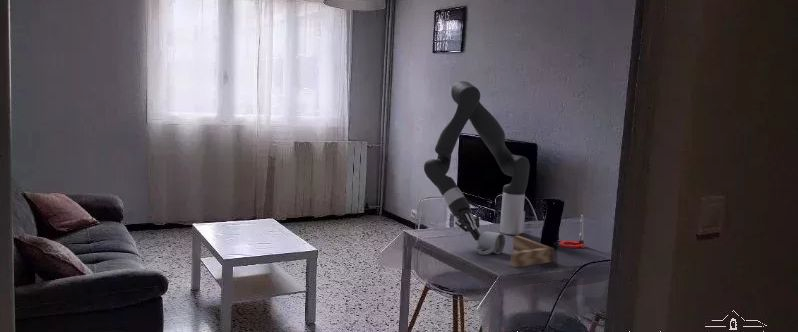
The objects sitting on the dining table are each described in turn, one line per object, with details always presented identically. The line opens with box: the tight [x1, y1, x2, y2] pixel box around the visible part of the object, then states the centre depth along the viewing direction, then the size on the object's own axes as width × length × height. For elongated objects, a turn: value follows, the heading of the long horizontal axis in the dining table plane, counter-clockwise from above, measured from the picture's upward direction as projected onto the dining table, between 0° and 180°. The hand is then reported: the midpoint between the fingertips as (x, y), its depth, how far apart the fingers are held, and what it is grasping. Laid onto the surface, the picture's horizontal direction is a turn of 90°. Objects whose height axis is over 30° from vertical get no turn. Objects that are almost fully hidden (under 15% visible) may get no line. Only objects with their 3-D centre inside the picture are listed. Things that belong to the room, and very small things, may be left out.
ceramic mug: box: [476, 231, 506, 256], centre depth 225 cm, size 11×8×8 cm
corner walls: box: [510, 235, 555, 268], centre depth 221 cm, size 18×19×5 cm
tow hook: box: [559, 214, 586, 249], centre depth 242 cm, size 8×13×9 cm
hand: (478, 239), depth 228 cm, fingers closed
